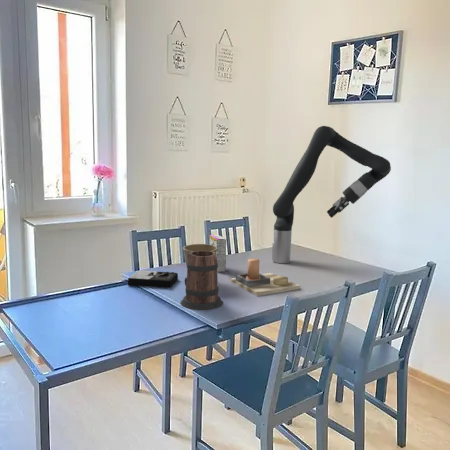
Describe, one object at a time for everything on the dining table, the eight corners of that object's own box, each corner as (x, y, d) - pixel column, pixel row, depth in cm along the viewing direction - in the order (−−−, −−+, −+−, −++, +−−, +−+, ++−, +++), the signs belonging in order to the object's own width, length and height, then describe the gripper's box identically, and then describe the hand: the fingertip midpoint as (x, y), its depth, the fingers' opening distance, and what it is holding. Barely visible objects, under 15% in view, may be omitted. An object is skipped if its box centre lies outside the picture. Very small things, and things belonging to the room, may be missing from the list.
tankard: (231, 306, 179) (232, 255, 175) (190, 313, 171) (190, 260, 168) (205, 289, 199) (205, 243, 196) (168, 294, 192) (167, 246, 188)
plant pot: (179, 279, 213) (179, 245, 210) (210, 276, 218) (210, 243, 215) (188, 288, 199) (188, 252, 196) (221, 285, 204) (221, 250, 202)
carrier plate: (230, 281, 211) (230, 273, 210) (271, 275, 221) (271, 267, 220) (256, 296, 192) (257, 286, 191) (299, 288, 202) (300, 279, 201)
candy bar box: (208, 266, 235) (208, 234, 232) (217, 265, 237) (218, 234, 234) (216, 272, 225) (216, 239, 222) (226, 271, 226) (226, 238, 223)
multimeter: (170, 289, 200) (170, 277, 199) (127, 286, 203) (127, 275, 202) (178, 280, 212) (178, 269, 212) (137, 277, 215) (137, 267, 215)
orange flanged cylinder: (243, 281, 207) (243, 259, 205) (255, 279, 210) (256, 257, 208) (250, 285, 201) (251, 262, 199) (263, 283, 204) (263, 260, 202)
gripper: (347, 184, 226) (322, 207, 229) (352, 187, 212) (325, 211, 215) (358, 195, 226) (332, 218, 229) (363, 199, 212) (336, 223, 216)
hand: (328, 214), depth 222 cm, fingers open, 8 cm apart
